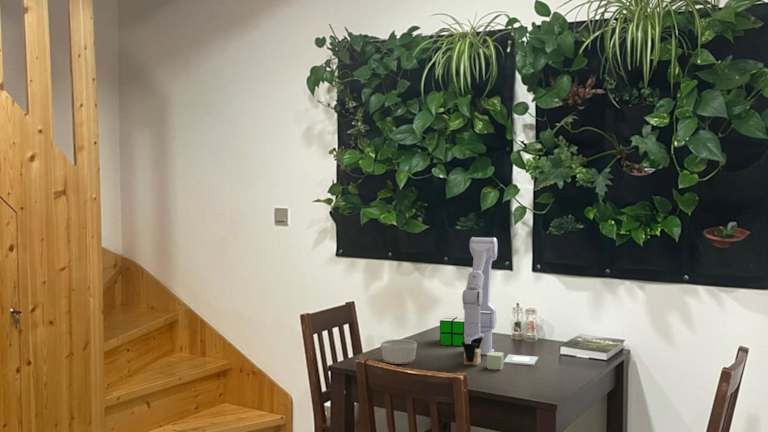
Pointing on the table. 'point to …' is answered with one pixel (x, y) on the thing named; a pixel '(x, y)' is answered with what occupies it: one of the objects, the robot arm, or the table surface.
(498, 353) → the sage block
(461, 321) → the puzzle cube
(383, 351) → the ramekin
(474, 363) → the maple block
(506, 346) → the table surface
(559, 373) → the table surface
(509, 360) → the board
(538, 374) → the table surface
